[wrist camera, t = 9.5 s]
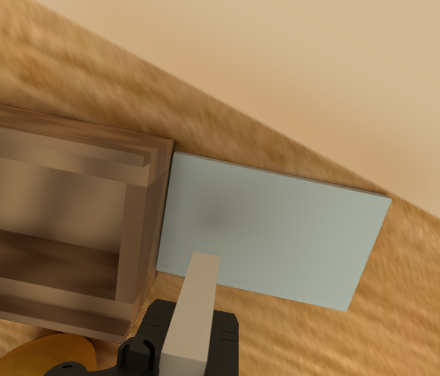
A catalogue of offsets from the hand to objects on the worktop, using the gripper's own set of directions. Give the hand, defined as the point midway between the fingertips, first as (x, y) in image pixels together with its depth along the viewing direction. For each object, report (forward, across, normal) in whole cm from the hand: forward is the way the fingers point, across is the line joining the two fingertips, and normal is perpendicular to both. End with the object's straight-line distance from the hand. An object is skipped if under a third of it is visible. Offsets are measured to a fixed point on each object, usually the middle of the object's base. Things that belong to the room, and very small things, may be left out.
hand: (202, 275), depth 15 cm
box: (+7, -13, 0) cm, 15 cm away
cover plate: (+8, +4, 0) cm, 9 cm away
